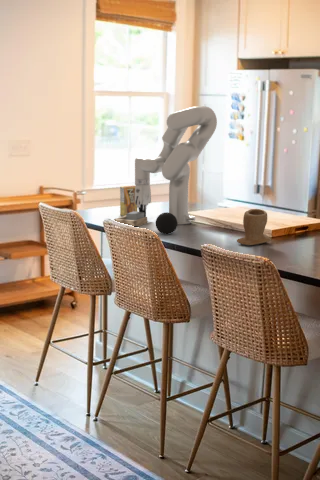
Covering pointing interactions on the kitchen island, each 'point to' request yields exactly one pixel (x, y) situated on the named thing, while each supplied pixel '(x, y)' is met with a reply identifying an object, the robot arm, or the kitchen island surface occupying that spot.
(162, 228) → the speaker
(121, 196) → the candy box
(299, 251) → the kitchen island surface
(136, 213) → the crate
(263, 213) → the stone cup
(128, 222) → the bay
